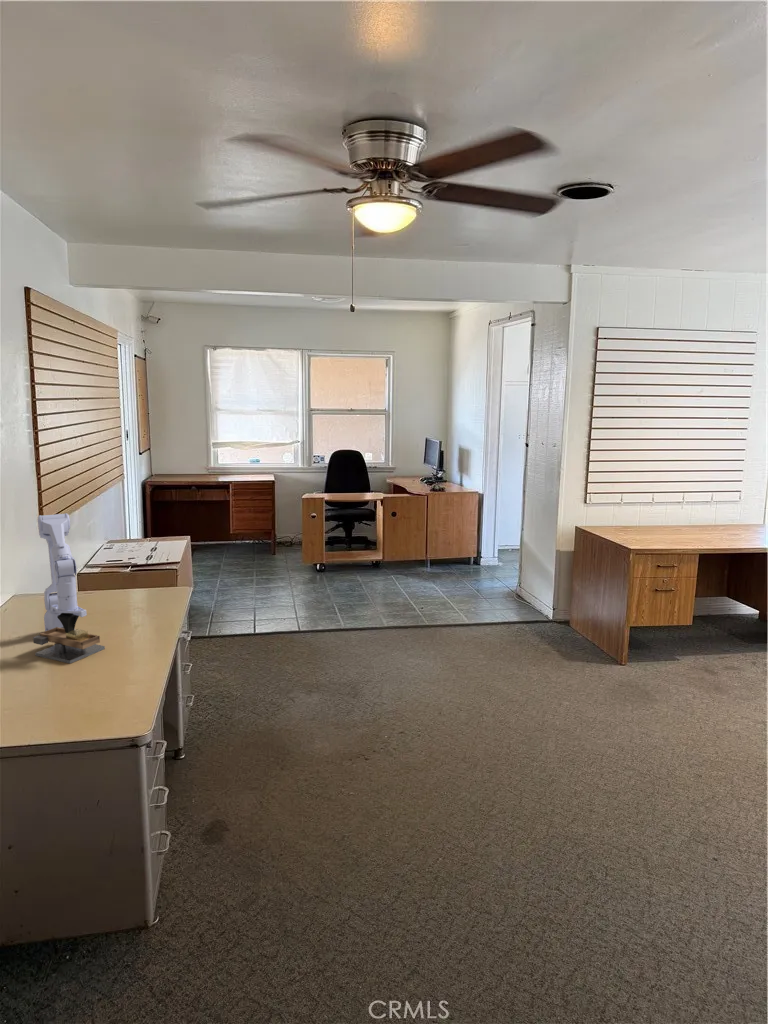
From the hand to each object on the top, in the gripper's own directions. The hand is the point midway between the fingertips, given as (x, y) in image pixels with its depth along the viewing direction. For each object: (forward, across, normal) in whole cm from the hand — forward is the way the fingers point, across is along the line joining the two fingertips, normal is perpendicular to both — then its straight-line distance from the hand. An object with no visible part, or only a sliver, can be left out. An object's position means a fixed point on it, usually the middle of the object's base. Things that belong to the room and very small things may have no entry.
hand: (70, 634), depth 218 cm
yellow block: (+1, +3, 0) cm, 4 cm away
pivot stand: (+6, 0, 0) cm, 6 cm away
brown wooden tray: (+2, 0, 0) cm, 2 cm away
